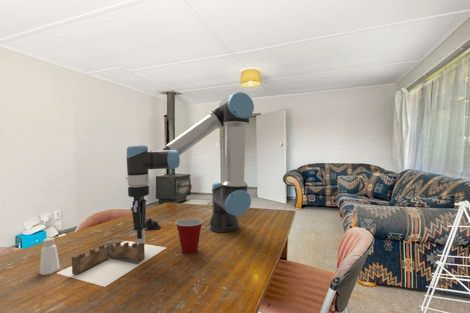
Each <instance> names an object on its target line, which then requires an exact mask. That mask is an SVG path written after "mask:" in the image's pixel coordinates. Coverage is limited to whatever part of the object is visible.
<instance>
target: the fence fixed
mask: <svg viewBox="0 0 470 313" xmlns="http://www.w3.org/2000/svg"><path fill="white" fill-rule="evenodd" d="M107 258H109V257H108V246H107V245H105V244H99V245H98V248H97V249H96V248H94V247H91V248H90V249H89V252H88V253H87V254H86V253H85V252H81V253H79V254H75V255H72V256H71V266H72V274H74V275H76V274H78V273H80V272H81V271H83V270H85V269H87V268H89V267H91V266H93V265H95V264H97V263H99V262H101V261H103V260H105V259H107Z"/></svg>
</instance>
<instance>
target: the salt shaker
mask: <svg viewBox="0 0 470 313" xmlns="http://www.w3.org/2000/svg"><path fill="white" fill-rule="evenodd" d="M42 241H43V247H42V248H41V251H40V261H39V262H40V264H39V275H42V276H45V275H50V274H53V273H55V272H59V270H60V268H61V266H60V261H59V260H60V259H59V254H58V248H57V245H56V244H55V243H54V242H55V238H54V237H48V238H45V239H43V240H42Z"/></svg>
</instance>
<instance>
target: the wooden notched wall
mask: <svg viewBox="0 0 470 313" xmlns="http://www.w3.org/2000/svg"><path fill="white" fill-rule="evenodd" d="M121 243H122V241H121V240H119V241H116V242H115V243H114V241H113V240H110V241H107V243H106V246H108V257H119V258H127V259H136V260H140V261H142V260H144V259H145V253H144V243H140V244H138V245H137V242H136V243H133V244H132V246H129V242H126V243H124V245H121Z"/></svg>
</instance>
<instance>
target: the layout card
mask: <svg viewBox="0 0 470 313" xmlns="http://www.w3.org/2000/svg"><path fill="white" fill-rule="evenodd" d="M126 242H129V246H132V244H133V243H137V241H129V240H125V241H121V245H124V243H126ZM166 249H167V247H165V246H158V245H152V244H146V243H145V245H144V253H145V259H144V260H142V261H140V260H136V259H127V258H119V257H109V258H107V259H105V260H103V261H101V262H99V263H97V264H95V265H93V266H91V267H89V268H87V269H85V270H83V271H81V272H80V273H78V274H76V275H74V274H72V265H71V266H69V267H66V268H65V269H62V270H60V271H57V272H56V275H60V276H65V277H68V278H71V279H75V280H79V281H82V282H86V283H88V284H89V283H90V284H93V285H97V286H101V287H104V288H106V287H107V286H108V285H110V284H112V283H115V281H116V280H118V279H119V278H121V277H123V276H125V275H126V274H127V273H129V272H131V271H132V270H134V269H136V268H138V267H139V266H140V265H142V264H144V263H146V262H147V261H149V260H150V259H151V258H153V257H155V256H156V255H158V254H159V253H161V252H162V251H164V250H166Z"/></svg>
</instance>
